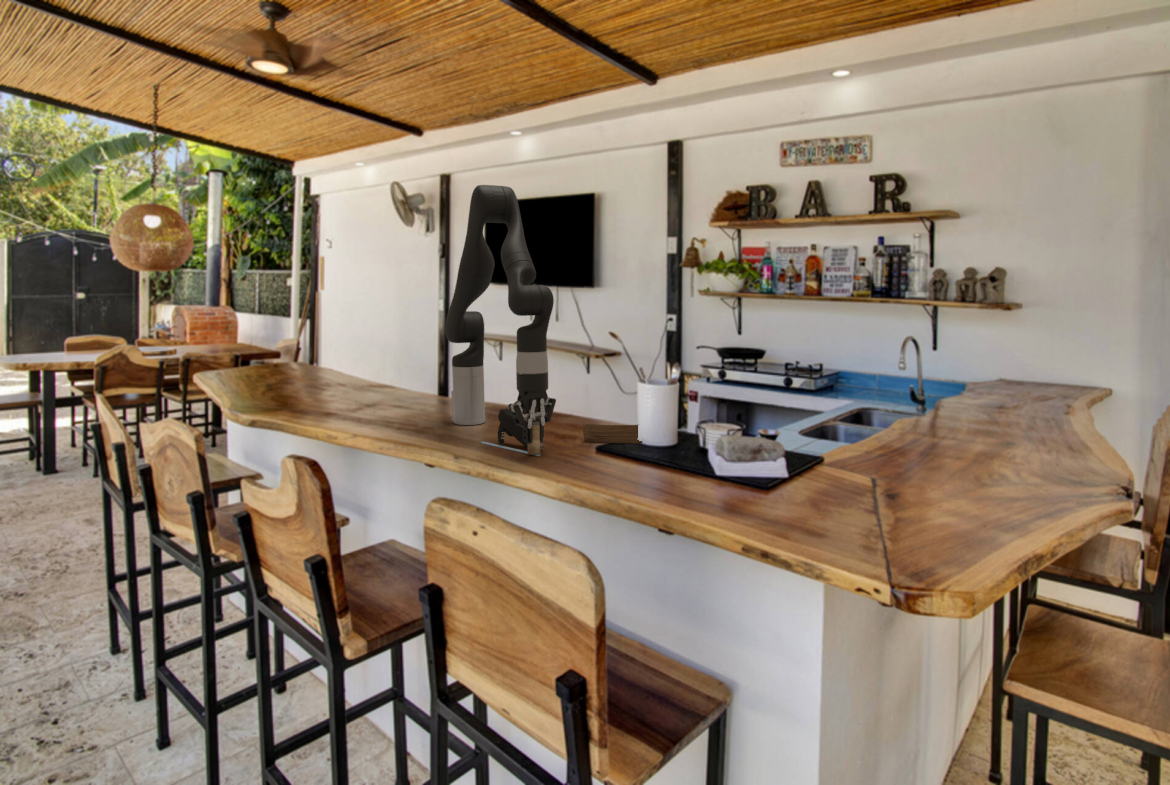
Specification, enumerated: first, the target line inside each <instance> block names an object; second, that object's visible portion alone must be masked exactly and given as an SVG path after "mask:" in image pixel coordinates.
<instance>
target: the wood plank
mask: <svg viewBox="0 0 1170 785" xmlns="http://www.w3.org/2000/svg"><path fill="white" fill-rule="evenodd" d="M638 425H639V424H595V423H594V424H593V423H584V424H582V435H583V441H584V442H593V443H594V442H595V443H605V444H606V443H607V444H630V445H632V444H638V445H639V444H641V443H642V444H643V440H642V441H639V440H637V438H638Z"/></svg>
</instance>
